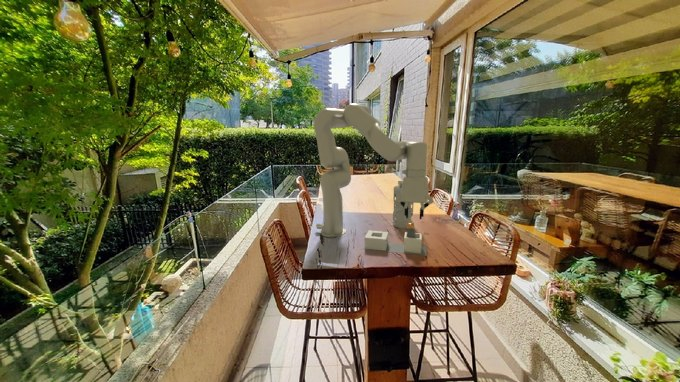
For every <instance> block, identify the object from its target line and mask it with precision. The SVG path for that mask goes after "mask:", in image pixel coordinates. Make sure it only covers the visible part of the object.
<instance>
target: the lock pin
mask: <svg viewBox="0 0 680 382" xmlns="http://www.w3.org/2000/svg"><path fill="white" fill-rule="evenodd" d="M406 229H407V230H406V232H407V234H408V238H415V233H416V231H415V222H408V223H407V228H406Z"/></svg>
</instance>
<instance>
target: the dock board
mask: <svg viewBox="0 0 680 382" xmlns="http://www.w3.org/2000/svg"><path fill="white" fill-rule="evenodd" d="M422 237H423V236H422V233H421V232H415V238H408V234H407V231H405V232H404V237H403V243H402V242H401V243H400V242H390V241H389V231H380V230H370V229H369V230H367V233H366V234H365V237H364V244H363V246H362V248H361V250H368V251H378V252H385V253H386V252H387V253H397V254H405V255H406V254H407V255H414V256H415V255H416V256H425V257H424V258H425V259H427V246H426V245H423V244H422V240H423V239H422Z"/></svg>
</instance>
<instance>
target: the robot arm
mask: <svg viewBox="0 0 680 382" xmlns="http://www.w3.org/2000/svg"><path fill="white" fill-rule="evenodd" d="M351 127H353V128H354V129H355V130H356V131H358V133H360V134H361V135H362V136H363V137H365V139H366V140H367V143H368V144H369V145H370V147H371V149H373V150H374V151H375V152H376V153H377V154H378V155H380V156H381V157H382V158H383V159H385V160H386V161H388V162H396V161H401V160H406V162H405V163H406V164H405V169H404V170H402V171H401V174H403V175H405V176H404V177H403V178H402V179H403V180H402V181H403V184H402V193H401V194H400V195H399V196H398V198H397V199H396V198H395V200H396V201H398V202H399V203H400V204H401V205H402V206H403V207H404V208H405V216H406V218H408V203H409V202H411V203H413V204H414V203H415V204H420V207H419V220H422V219H423V217H424V213H425V211H424V210H425V209H427V208H428V207H429V206H430V205H432V204H433V203H435V202H434V200H433V198H432V196H430V193H429V180H428V177H427V176H426V174H427V155H428V154H427V153H428V144H427V143H426V142H425V141H404V140H396V141H394V140H393V139H391V138H390V137H389V136H388V135H387V134H385V133H384V132H383V130H382V129H381V122H380V121H379V120H378V119H377V118H375V117H374V116H373V115H372V113H371V110H370V109H369V107H367V106H366V105H364V104H359V103H349V104H348V105H346V106H345V107H344V109H340V108H339V109H338V108H332V107H331V108H330V107H326V108H322V109H320V110H319V111H318V112H317V114H315V117H314V120H313V129H314V132H315V133H314V134H315V138H316V141H317V142H316V144H317V149H318V156H319V162H320V164H321V167H324V168H327V169H330V168H333V169H332V170H328V171H326V172H324V173H323V174H322V175H321V177H320V181H319V182H320V183H319V184H320V188H321V192H322V193H321V194H322V206H323V207H322V208H323V212H322V213H323V223H322V224H321V223H316V227H315V228H316V229H318V230H321V231H320V234H321V236H322V237H324V238H325V237H326V238H334V239H335V238H337V237H339V236H342V235H345V234H346V232H347V230H346V228H344V224H343V223H344V222H343V221H344V219H343V217H344V216H343V212H344V211H343V208H344V207H343V195H342V193H341V189H343V188H345V187H347V186H349V185H350V184H351V181H352V172H351V165H350V158H349V155H348V153H347V151H346V150H345V149H344V148H343V147H339V146H337V144H336V138H335V134H334V133H333V131H332V128H334V129H335V128H336V129H340V128H341V129H343V128H351ZM401 198H402V200H401ZM403 201H404V202H405V203H404V202H403Z"/></svg>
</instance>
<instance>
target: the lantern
mask: <svg viewBox="0 0 680 382" xmlns="http://www.w3.org/2000/svg"><path fill="white" fill-rule="evenodd" d="M402 184H403V180H399V181H397V185H396V186H393V199H392V201H393V212H392V223H393V226H394V227H396V228H397V227H398V229H407V223H408V222H413V219H412V217H413V215H414V203H411V202H409V203H408V218H406V216H405V208H404V207H403V206H402V205H401V204H400V203H399V202H398V201H396V199H397V198H398V196H399V195H400V194H401V193H402ZM401 200H402V198H401ZM403 202H404V201H403ZM404 203H405V202H404ZM413 223H414V222H413Z"/></svg>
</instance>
